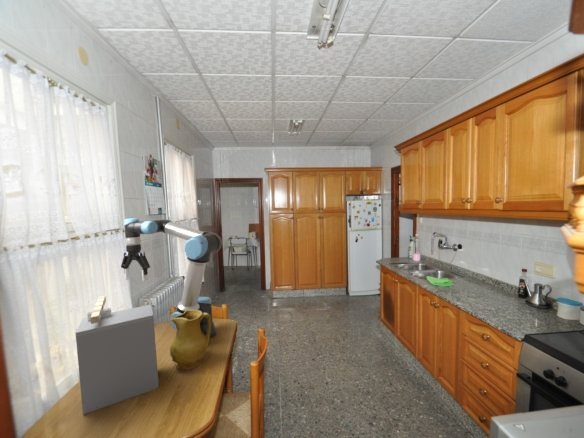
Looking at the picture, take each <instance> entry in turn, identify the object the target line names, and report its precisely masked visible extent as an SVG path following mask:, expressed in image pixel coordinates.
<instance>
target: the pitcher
mask: <svg viewBox="0 0 584 438" xmlns="http://www.w3.org/2000/svg"><path fill="white" fill-rule="evenodd" d="M204 317H206V318H207V320H208V323H207V332H206V335H204V334H203V332H202V331H201V328H200V322H201V320H202V319H203V318H204ZM171 321H173V322H174V323H175V325H176V328H177V330H176V334H175V337H174V339H173V340H172V342H171V344H170V348H169V351H170V352H169V353H170V357H171V359H172V362H175V368H176V369H177V370H179V371H181V370H183V371H185V370H186V371H187V370H193V369H195V368H197V367H199V366H200V365H201V364H202V362H203V361H204V357H205V355H206V354H207V351H208V350H207V349H208V347H209V346H208V345H209V342H210V339H211V338H210V332H211V331H210V330H211V317H210V315H209V314H208V313H202V312H201V311H199V310H186V311H185V312H184V313H183V314H181V315H179V316H176V317H174V318H172V319H171Z"/></svg>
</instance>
